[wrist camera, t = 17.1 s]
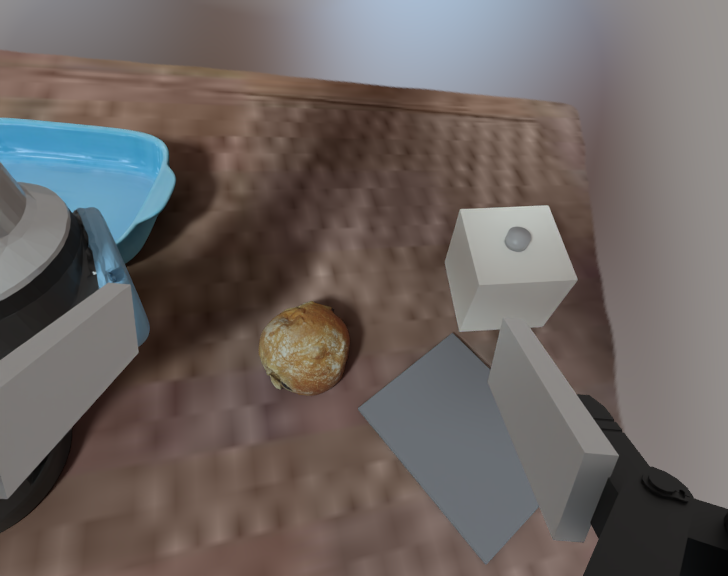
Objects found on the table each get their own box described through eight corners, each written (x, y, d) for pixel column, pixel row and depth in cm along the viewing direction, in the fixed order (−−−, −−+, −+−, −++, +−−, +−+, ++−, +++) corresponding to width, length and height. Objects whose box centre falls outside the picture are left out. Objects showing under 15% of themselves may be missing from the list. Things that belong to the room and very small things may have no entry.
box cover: (459, 331, 53) (482, 278, 44) (444, 262, 58) (462, 201, 49) (542, 326, 53) (583, 272, 44) (520, 258, 59) (552, 197, 49)
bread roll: (260, 372, 54) (230, 374, 46) (293, 292, 55) (270, 280, 47) (335, 406, 52) (317, 414, 44) (369, 322, 53) (357, 315, 45)
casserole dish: (210, 170, 67) (195, 130, 61) (157, 298, 55) (133, 264, 49) (-30, 149, 68) (-67, 108, 62) (-133, 270, 56) (-191, 233, 50)
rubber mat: (358, 409, 48) (358, 408, 47) (451, 334, 53) (452, 332, 52) (485, 564, 40) (486, 564, 40) (579, 460, 45) (581, 459, 45)
